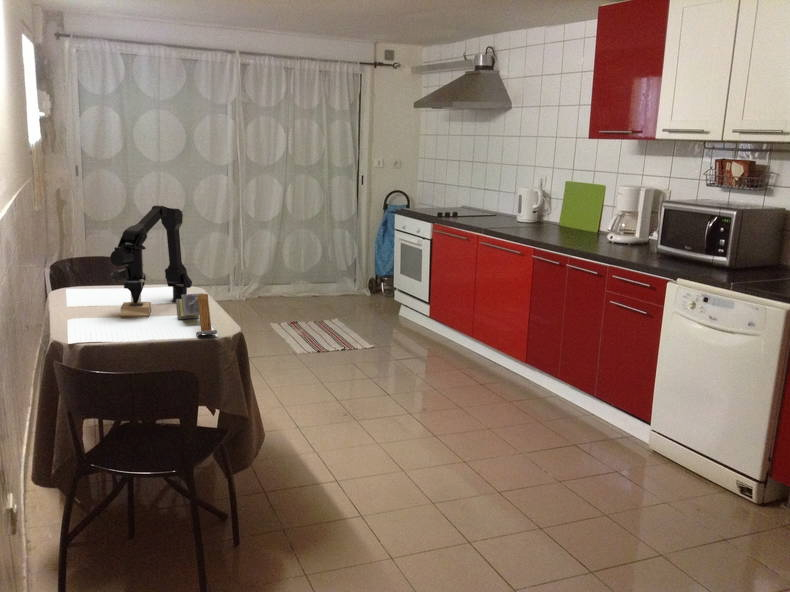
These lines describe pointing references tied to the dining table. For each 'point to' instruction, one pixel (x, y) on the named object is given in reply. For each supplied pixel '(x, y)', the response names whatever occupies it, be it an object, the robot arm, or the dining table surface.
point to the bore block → (135, 310)
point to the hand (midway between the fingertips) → (136, 302)
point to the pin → (137, 302)
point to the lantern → (195, 310)
